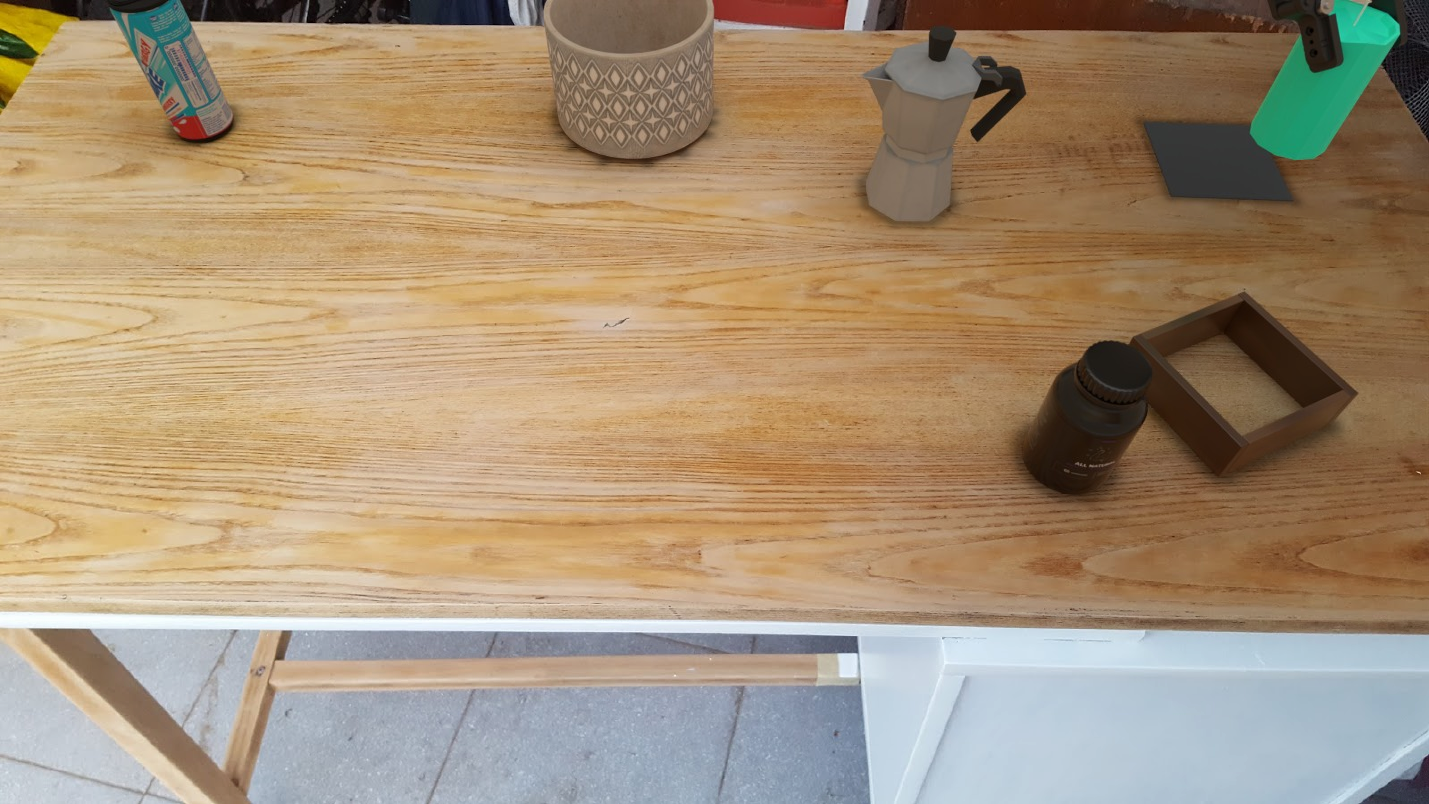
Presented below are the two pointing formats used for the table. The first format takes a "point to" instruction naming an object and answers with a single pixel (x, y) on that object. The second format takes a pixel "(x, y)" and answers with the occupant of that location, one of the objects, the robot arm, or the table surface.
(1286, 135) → the candle
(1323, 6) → the robot arm
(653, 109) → the planter
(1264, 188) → the mat
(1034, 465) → the supplement bottle
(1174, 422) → the brown wooden tray
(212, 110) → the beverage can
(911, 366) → the table surface
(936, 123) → the coffee maker
